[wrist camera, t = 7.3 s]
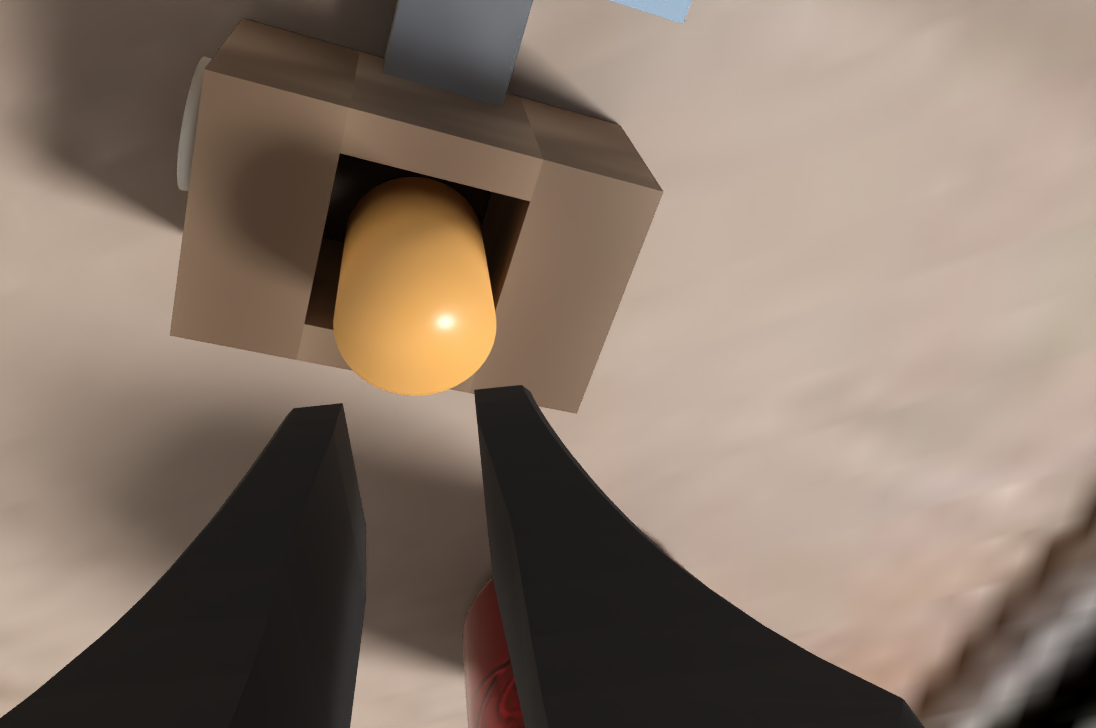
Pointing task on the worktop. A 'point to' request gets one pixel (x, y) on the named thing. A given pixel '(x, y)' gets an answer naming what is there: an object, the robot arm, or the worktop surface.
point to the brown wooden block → (415, 145)
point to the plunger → (414, 289)
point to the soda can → (489, 666)
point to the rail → (457, 45)
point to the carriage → (661, 7)
